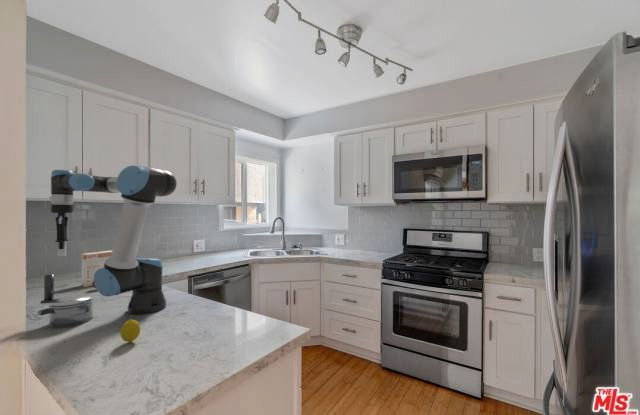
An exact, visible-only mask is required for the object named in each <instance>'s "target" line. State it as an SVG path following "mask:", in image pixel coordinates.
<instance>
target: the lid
mask: <svg viewBox="0 0 640 415" xmlns="http://www.w3.org/2000/svg"><path fill="white" fill-rule="evenodd" d="M43 277H44V279H43V282H44V283H43V286H44V287H43V299H42V300H40V304H41V305H42V304H48V307H49V306H53V307H61V306H70V305H76V304H80V303H84V302H87V301H90V300H92V299H93V300H94V296H93V294H90V293H89V294H88V293H86V294H84V293H83V294H82V293H81V294H71V295H67V296H61V297H58V298H55V295H54V292H55V274H54V273H49V274H48V273H47V274H44V275H43Z"/></svg>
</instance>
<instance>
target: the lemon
mask: <svg viewBox="0 0 640 415" xmlns="http://www.w3.org/2000/svg"><path fill="white" fill-rule="evenodd" d="M140 333H141V326H140V323H139V322H138V320H135V319H132V318H130V319H128V320H127V321H125V322H124V323H123V324H122V325H121V329H120V337H121V339H122V340H123V341H124V342H128V343H129V344H131V343H133V341H136V339H137V338H138V337H139V336H140Z"/></svg>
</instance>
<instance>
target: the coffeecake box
mask: <svg viewBox="0 0 640 415" xmlns="http://www.w3.org/2000/svg"><path fill="white" fill-rule="evenodd" d="M112 251H113V250H101V251H93V252H92V251H91V252H84V253H81V286H82V287H84V288H87V287H93V285H92V284H93V281H94V274H95V272H96V271H97V270H98V269H100V268H104V264H105V261H106V260H107V259H108V258H110V257H111V255H112Z"/></svg>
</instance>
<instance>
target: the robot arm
mask: <svg viewBox="0 0 640 415" xmlns="http://www.w3.org/2000/svg"><path fill="white" fill-rule="evenodd" d="M176 188H177V179H176V177H175V175H174V174H172V172H170V171H168V170H166V169H160V168H159V169H158V168H153V167H148V166H143V165H128V166H126V167H125V168H123V169H122V170H121V171H120V173H118V176H98V175H91V174H87V173H81V172H80V173H74V172H73V171H72V170H65V169H54V170H53V169H52V171H51V174H50V196H49V200H50V199H51V201H50V203H51V205H50V213H52V214H56V213H57V216H56V217H55V222H56V223H55V226H56V240H55V241H54V242H55V243H57V245H56V246H57V252H56V253H57V254H56V256H57V257H56V258H58V257H66V256H67V242H69V238H68V237H67V236H68V233H67V232H68V225H69V224H68V221H69V216H67V214H69V213H70V214H71V213H74V205H73V204H74V192H92V193H108V194H118V193H120V194H121V195H120V197H121V198H122V200H123V201H124V203H123V206H122V210H121V215H120V219H119V223H118V227H117V230H116V234H115V239H114V243H113V247H112V250H111V251H112V255H111V257H110V258H108V259H107V260H106V261H105V264H104V268H100V269H98V270H97V271H96V272H95V274H94V285H95V287H96V288H95V290H96V291H97V292H98V293H99V294H100V295H102V296H104V297H106V298H107V297H113V296H119V295H121V294H124V293H128V292H132V293H131V297H130V299H129V302H128V305H127V313H129V314H131V315H143V314H144V315H145V314H151V313H155V312H159V311H162V310H163V309H165V308H166V307H167V299H166V296H165V294H164V292H163V261H162V259H160V258H155V257H152V258H151V257H137V255H138V250H139V248H140V243H141V240H142V235H143V231H144V228H145V224H146V220H147V216H148V212H149V207H150V206H151V205H153V204H155V201H156V198H157V197H161V198H162V197H167V196H168V197H169V195H171V194H173V193H174V192H175V191H176ZM67 238H68V239H67Z"/></svg>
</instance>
